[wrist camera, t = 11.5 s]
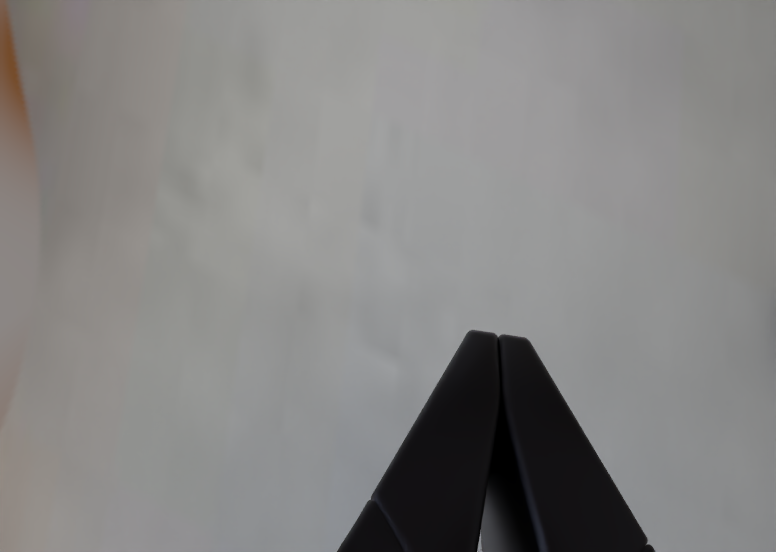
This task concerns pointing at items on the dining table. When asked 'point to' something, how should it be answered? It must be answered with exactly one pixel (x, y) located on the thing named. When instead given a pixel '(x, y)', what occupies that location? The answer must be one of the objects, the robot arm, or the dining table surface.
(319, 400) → the dining table surface
